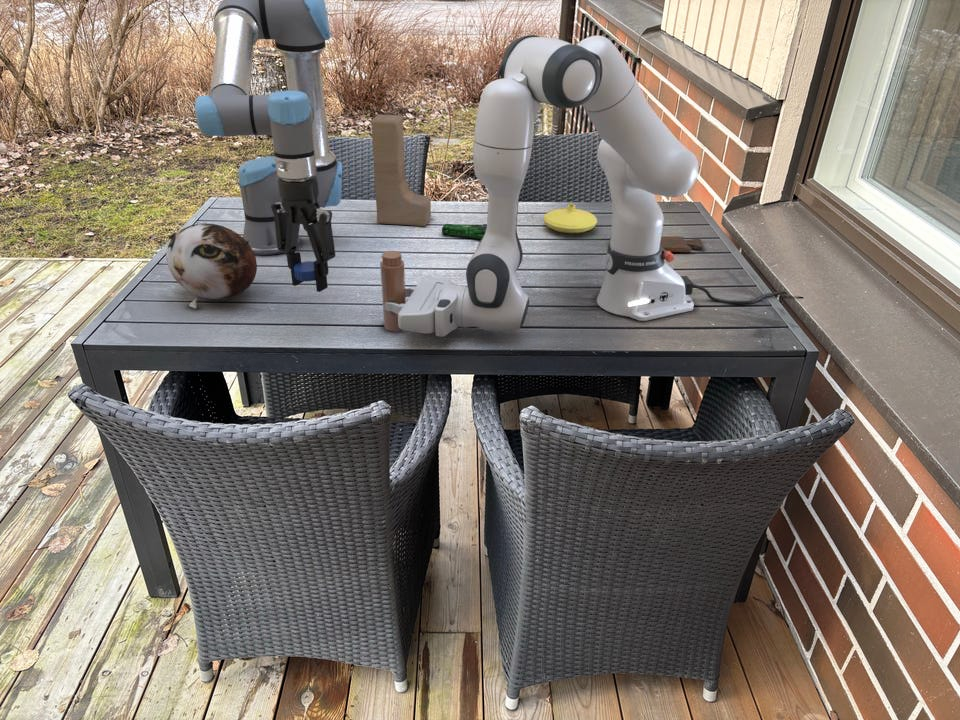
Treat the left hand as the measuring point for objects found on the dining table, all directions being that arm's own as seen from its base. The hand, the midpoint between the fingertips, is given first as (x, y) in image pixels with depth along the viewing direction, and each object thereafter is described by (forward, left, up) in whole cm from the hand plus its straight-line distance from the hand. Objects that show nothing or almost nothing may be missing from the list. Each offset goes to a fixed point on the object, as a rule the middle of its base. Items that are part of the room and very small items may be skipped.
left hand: (310, 286), depth 150 cm
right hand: (+12, +11, -4) cm, 17 cm away
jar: (+13, +11, -10) cm, 20 cm away
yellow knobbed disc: (+17, +88, -11) cm, 90 cm away
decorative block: (-27, +65, -11) cm, 71 cm away
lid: (0, 0, +4) cm, 4 cm away
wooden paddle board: (+43, +90, -11) cm, 100 cm away
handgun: (-4, +70, -11) cm, 71 cm away
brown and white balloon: (-31, -1, -11) cm, 32 cm away
